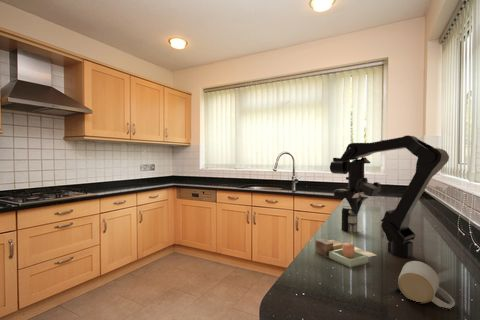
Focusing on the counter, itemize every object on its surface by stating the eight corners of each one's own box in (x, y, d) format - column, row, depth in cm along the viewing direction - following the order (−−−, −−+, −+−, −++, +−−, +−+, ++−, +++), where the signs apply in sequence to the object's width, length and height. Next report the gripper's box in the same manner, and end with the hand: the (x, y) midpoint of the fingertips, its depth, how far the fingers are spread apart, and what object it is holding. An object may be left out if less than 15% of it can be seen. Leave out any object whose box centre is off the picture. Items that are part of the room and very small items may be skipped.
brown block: (333, 255, 82) (333, 243, 82) (326, 256, 80) (326, 244, 80) (321, 249, 86) (321, 238, 86) (315, 251, 85) (315, 239, 85)
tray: (368, 262, 76) (368, 256, 76) (350, 267, 72) (350, 260, 72) (346, 253, 83) (346, 247, 83) (329, 257, 79) (329, 251, 79)
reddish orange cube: (356, 259, 77) (356, 245, 77) (349, 261, 75) (349, 247, 75) (347, 255, 80) (347, 242, 80) (339, 257, 78) (340, 243, 78)
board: (377, 259, 82) (377, 255, 82) (342, 269, 75) (342, 264, 75) (347, 247, 93) (347, 243, 93) (314, 255, 85) (314, 250, 85)
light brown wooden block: (343, 252, 84) (344, 243, 84) (333, 255, 82) (333, 246, 82) (332, 247, 88) (332, 239, 88) (322, 250, 86) (322, 241, 86)
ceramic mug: (396, 298, 59) (397, 266, 59) (402, 285, 65) (403, 256, 65) (454, 318, 52) (455, 282, 52) (454, 301, 58) (455, 269, 58)
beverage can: (343, 230, 115) (344, 205, 115) (358, 233, 111) (359, 207, 111) (339, 233, 110) (339, 207, 110) (355, 236, 106) (355, 209, 106)
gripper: (358, 176, 85) (357, 221, 85) (391, 175, 93) (390, 216, 93) (333, 174, 95) (332, 214, 95) (364, 174, 103) (364, 210, 103)
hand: (355, 214), depth 96 cm, fingers closed
